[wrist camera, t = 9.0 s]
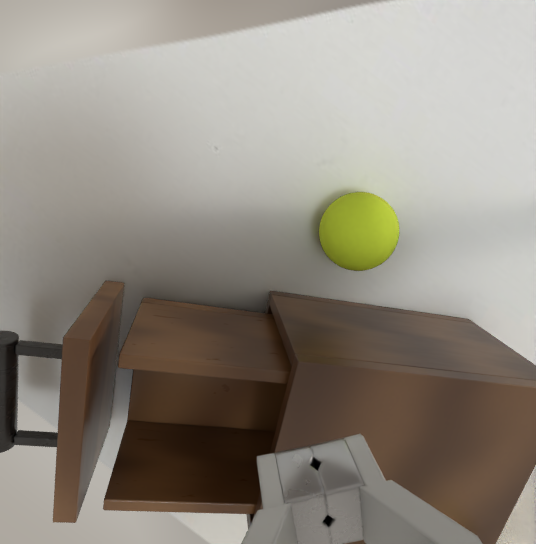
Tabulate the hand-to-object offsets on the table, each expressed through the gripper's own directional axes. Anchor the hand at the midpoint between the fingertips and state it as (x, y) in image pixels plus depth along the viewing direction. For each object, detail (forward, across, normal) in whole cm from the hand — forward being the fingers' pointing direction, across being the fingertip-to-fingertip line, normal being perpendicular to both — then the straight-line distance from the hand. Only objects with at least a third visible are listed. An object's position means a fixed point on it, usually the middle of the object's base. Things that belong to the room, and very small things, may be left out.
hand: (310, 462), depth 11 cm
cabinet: (+18, -7, +11) cm, 22 cm away
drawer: (+17, +6, +6) cm, 19 cm away
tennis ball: (+15, -7, -2) cm, 17 cm away
